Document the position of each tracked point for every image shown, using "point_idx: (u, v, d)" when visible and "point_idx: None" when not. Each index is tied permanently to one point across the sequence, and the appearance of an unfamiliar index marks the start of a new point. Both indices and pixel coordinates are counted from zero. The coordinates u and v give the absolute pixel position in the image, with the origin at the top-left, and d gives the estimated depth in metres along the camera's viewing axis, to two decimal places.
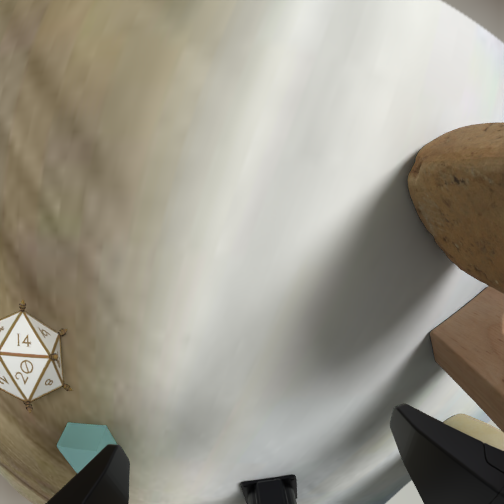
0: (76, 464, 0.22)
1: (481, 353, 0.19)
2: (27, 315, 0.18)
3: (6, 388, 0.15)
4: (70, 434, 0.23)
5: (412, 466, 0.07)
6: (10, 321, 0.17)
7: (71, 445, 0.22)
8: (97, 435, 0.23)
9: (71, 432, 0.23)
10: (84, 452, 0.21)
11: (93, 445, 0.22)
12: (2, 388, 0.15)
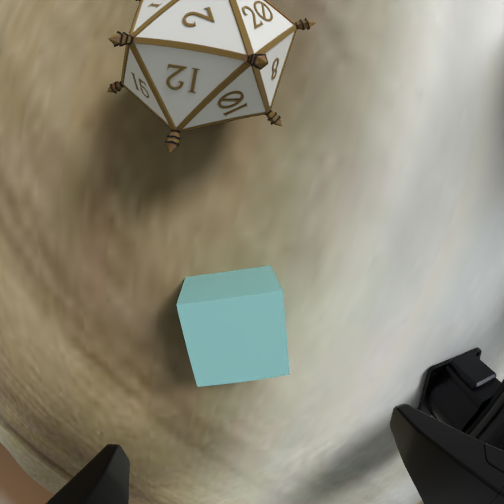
0: (209, 352, 0.15)
1: None
2: None
3: (195, 36, 0.08)
4: (202, 286, 0.16)
5: (412, 466, 0.07)
6: None
7: (214, 296, 0.14)
8: (263, 276, 0.16)
9: (202, 284, 0.16)
10: (248, 304, 0.14)
11: (266, 286, 0.15)
12: (180, 39, 0.08)
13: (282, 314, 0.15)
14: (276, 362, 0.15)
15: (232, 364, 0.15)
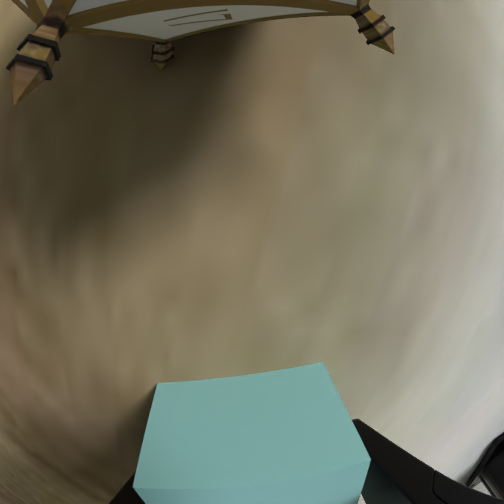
0: None
1: None
2: None
3: None
4: (187, 426, 0.07)
5: None
6: None
7: (215, 474, 0.05)
8: (317, 402, 0.07)
9: (188, 417, 0.07)
10: (294, 488, 0.05)
11: (331, 441, 0.06)
12: None
13: (357, 488, 0.05)
14: None
15: None
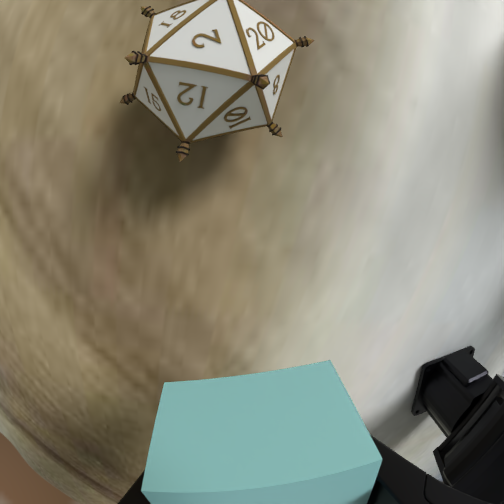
0: None
1: None
2: None
3: (204, 57, 0.09)
4: (196, 427, 0.07)
5: None
6: None
7: (226, 477, 0.05)
8: (326, 402, 0.07)
9: (196, 419, 0.07)
10: (306, 489, 0.05)
11: (342, 441, 0.06)
12: (190, 59, 0.09)
13: (368, 487, 0.05)
14: None
15: None
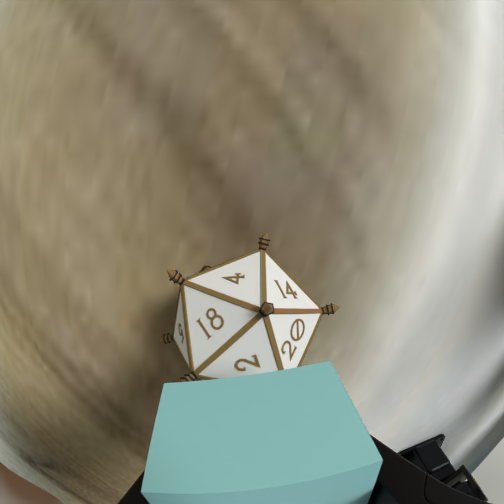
0: None
1: None
2: None
3: None
4: (196, 428, 0.06)
5: None
6: (249, 265, 0.15)
7: (226, 478, 0.05)
8: (327, 403, 0.07)
9: (196, 420, 0.07)
10: (306, 490, 0.05)
11: (342, 442, 0.06)
12: None
13: (368, 488, 0.05)
14: None
15: None
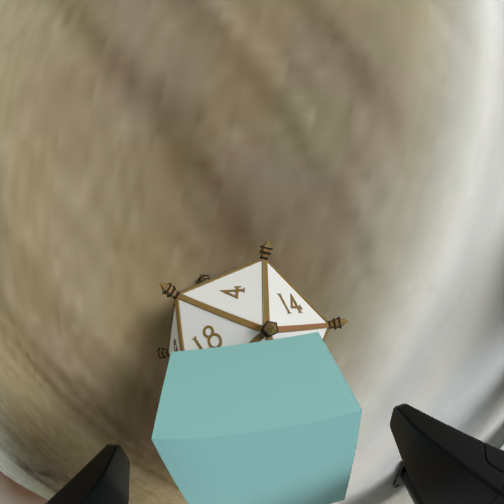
0: (219, 493, 0.07)
1: None
2: None
3: None
4: (200, 386, 0.08)
5: (412, 466, 0.07)
6: (250, 276, 0.13)
7: (226, 424, 0.06)
8: (314, 364, 0.08)
9: (200, 379, 0.08)
10: (295, 437, 0.06)
11: (326, 395, 0.07)
12: None
13: (352, 441, 0.07)
14: (328, 493, 0.07)
15: (257, 502, 0.07)
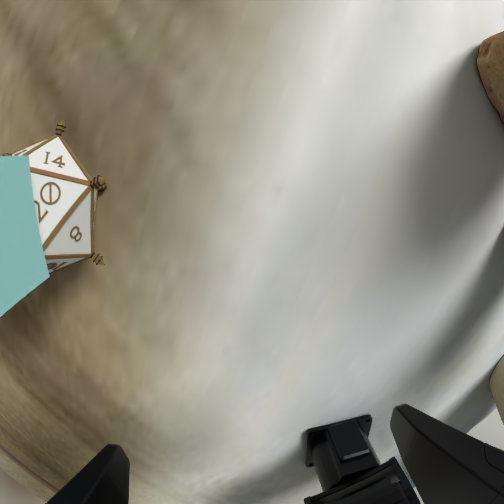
0: None
1: None
2: (63, 141, 0.13)
3: None
4: None
5: (412, 466, 0.07)
6: (37, 144, 0.12)
7: None
8: None
9: None
10: None
11: None
12: None
13: None
14: None
15: None
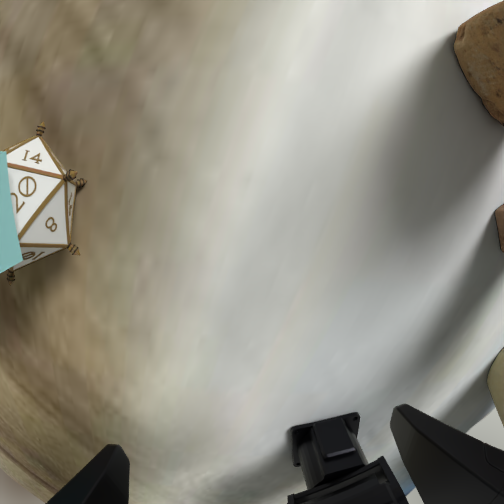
0: None
1: None
2: (43, 141, 0.14)
3: None
4: None
5: (412, 466, 0.07)
6: (19, 144, 0.13)
7: None
8: None
9: None
10: None
11: None
12: None
13: None
14: None
15: None
